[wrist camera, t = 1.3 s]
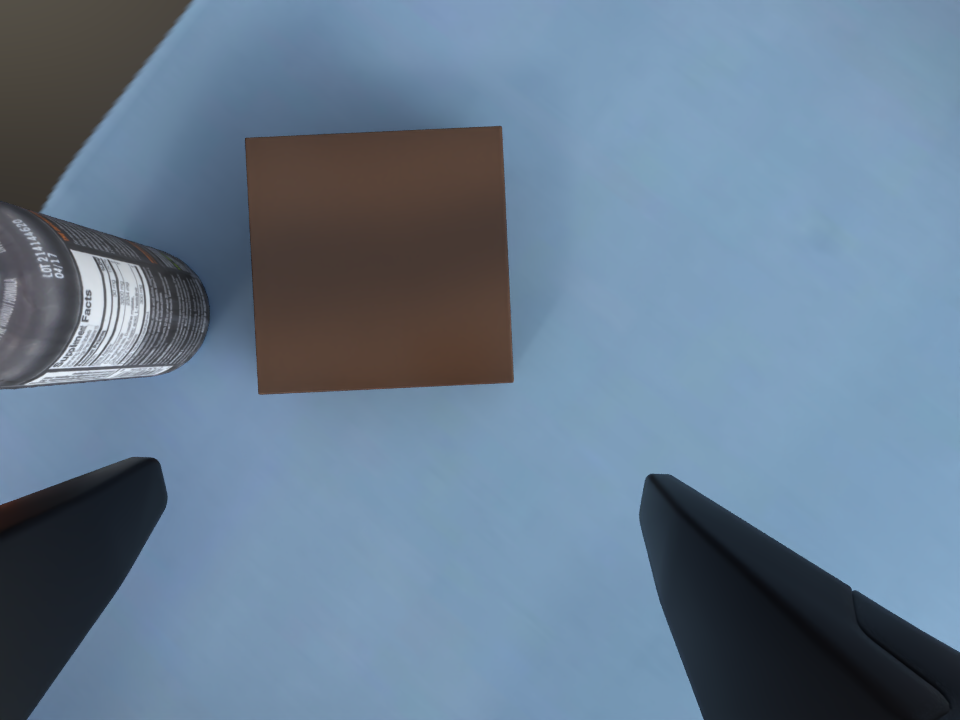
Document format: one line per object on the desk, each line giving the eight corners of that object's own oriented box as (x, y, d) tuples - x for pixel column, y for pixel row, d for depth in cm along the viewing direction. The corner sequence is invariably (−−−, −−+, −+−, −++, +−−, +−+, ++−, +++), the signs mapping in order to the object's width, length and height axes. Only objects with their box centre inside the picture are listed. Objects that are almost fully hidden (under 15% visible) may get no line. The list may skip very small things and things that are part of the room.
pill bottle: (61, 308, 23) (-338, 265, 12) (155, 224, 23) (-156, 99, 12) (146, 403, 23) (-168, 450, 12) (240, 319, 23) (14, 287, 12)
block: (507, 377, 23) (513, 382, 19) (295, 387, 23) (257, 394, 19) (498, 164, 23) (501, 125, 19) (284, 174, 23) (244, 137, 19)
